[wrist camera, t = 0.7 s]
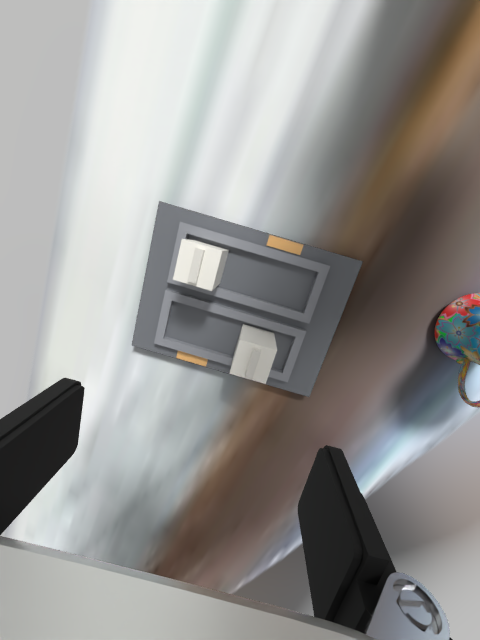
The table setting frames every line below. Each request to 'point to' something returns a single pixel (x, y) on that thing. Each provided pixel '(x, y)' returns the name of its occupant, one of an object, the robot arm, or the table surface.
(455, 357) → the mug
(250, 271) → the switch bank
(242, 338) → the tab
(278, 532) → the table surface
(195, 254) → the tab
